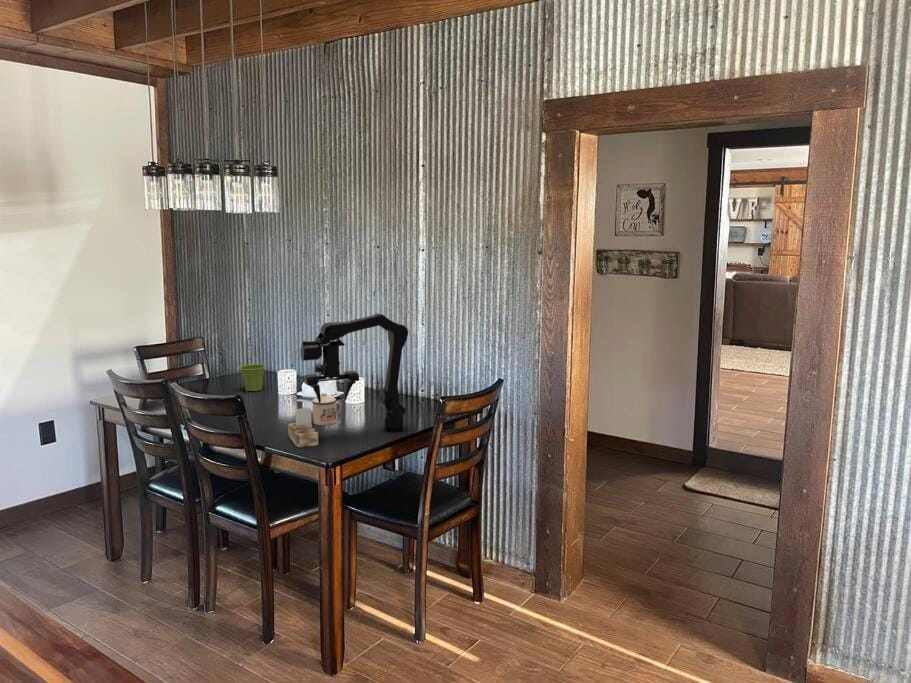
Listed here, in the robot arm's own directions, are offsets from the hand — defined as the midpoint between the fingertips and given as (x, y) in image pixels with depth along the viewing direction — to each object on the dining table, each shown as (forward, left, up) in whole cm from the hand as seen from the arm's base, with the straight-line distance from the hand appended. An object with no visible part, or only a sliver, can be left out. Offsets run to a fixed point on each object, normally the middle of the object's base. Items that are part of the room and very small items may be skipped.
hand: (332, 401), depth 258 cm
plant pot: (+44, -77, -13) cm, 90 cm away
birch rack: (+10, +4, -13) cm, 17 cm away
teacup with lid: (+4, -20, -13) cm, 24 cm away
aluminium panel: (+10, +4, -12) cm, 16 cm away
